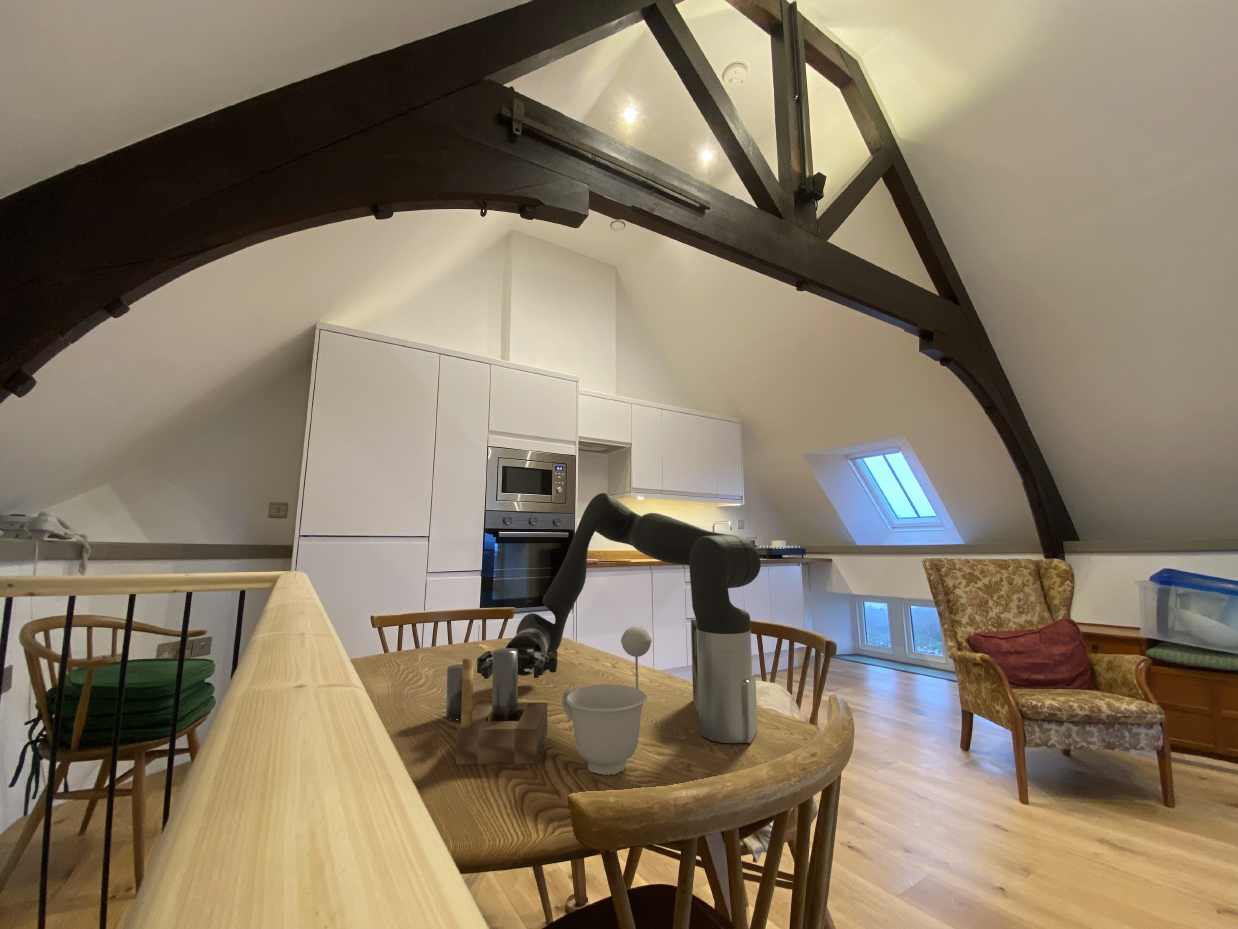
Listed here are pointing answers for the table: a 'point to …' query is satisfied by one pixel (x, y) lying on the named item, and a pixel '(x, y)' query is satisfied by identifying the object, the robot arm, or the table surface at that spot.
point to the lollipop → (636, 644)
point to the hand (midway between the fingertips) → (510, 672)
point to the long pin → (505, 684)
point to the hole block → (498, 730)
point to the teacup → (605, 724)
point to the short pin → (454, 692)
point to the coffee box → (694, 663)
